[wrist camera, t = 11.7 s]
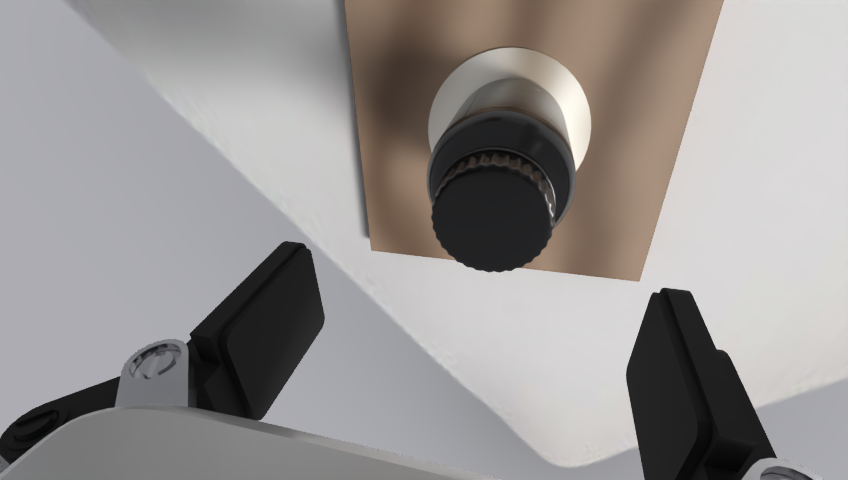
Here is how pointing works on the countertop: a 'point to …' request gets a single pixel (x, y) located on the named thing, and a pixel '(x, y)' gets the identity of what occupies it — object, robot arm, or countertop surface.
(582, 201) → the walnut board
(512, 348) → the countertop surface
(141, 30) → the countertop surface
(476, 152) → the supplement bottle
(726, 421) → the robot arm
